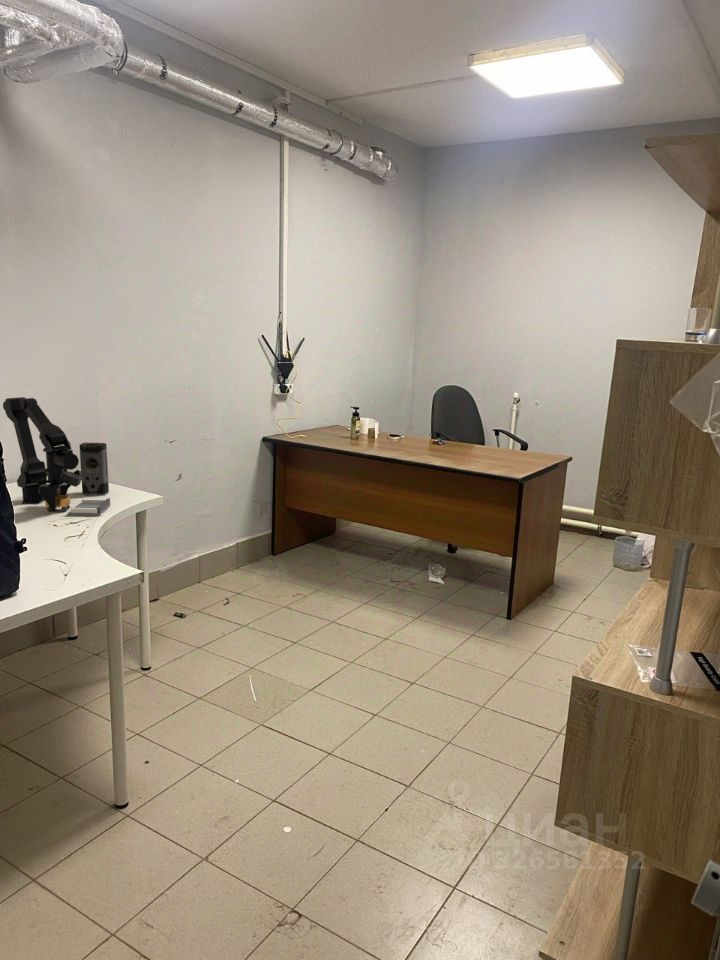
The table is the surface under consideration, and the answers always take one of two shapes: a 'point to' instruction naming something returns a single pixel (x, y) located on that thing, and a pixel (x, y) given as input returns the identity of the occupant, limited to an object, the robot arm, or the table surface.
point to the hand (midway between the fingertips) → (58, 507)
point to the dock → (90, 507)
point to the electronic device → (94, 468)
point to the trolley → (61, 502)
